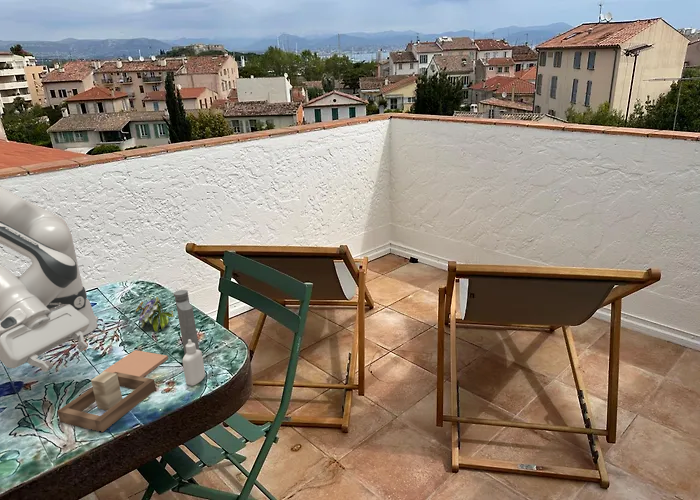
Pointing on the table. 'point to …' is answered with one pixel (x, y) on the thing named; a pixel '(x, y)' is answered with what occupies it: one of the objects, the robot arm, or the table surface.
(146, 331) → the table surface
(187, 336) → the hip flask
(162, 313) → the passion flower
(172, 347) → the table surface
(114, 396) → the ash post
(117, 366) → the terracotta tile
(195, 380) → the eye dropper bottle
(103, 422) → the walnut stand
